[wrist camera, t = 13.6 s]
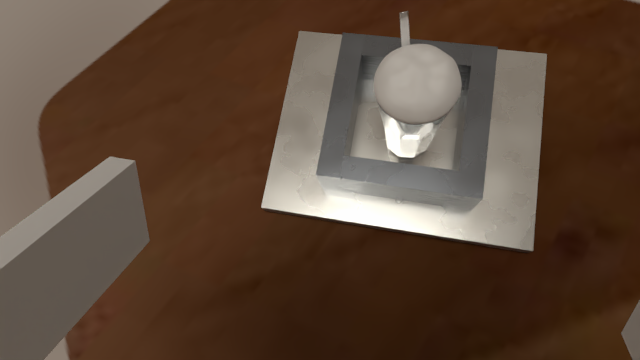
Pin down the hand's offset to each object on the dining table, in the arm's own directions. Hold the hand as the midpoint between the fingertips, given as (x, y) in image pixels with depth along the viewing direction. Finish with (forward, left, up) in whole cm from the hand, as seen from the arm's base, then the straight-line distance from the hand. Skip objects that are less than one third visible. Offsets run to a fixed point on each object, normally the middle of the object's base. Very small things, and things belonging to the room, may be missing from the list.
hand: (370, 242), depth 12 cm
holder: (0, -10, -20) cm, 22 cm away
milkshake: (-1, -10, -19) cm, 22 cm away
